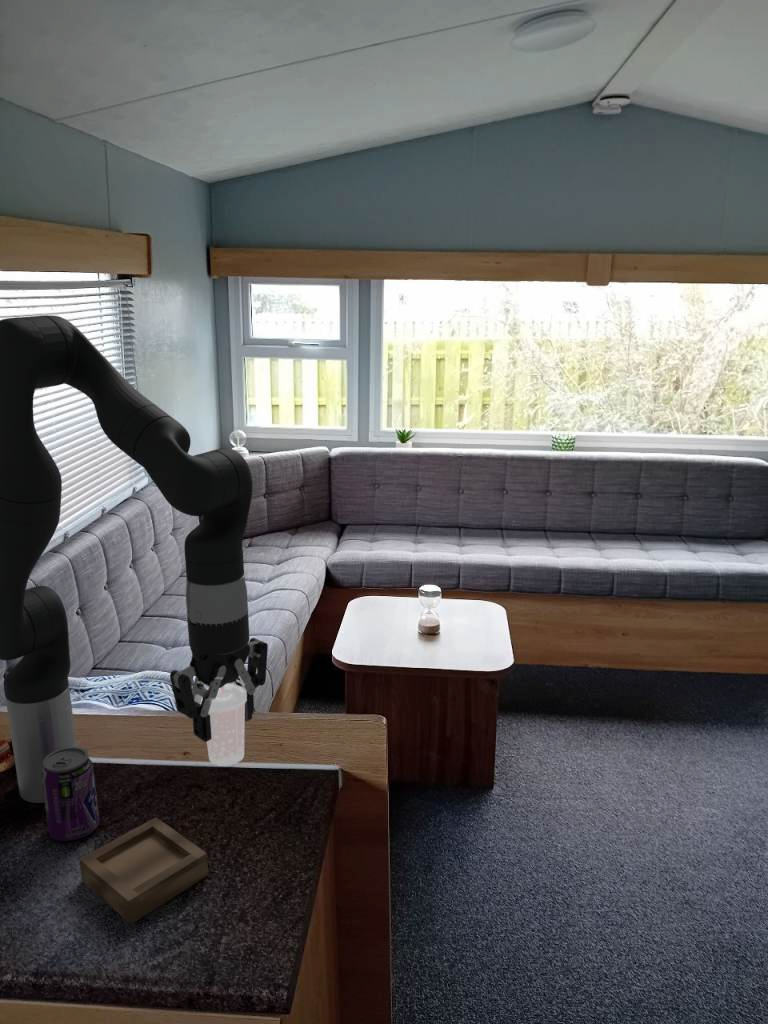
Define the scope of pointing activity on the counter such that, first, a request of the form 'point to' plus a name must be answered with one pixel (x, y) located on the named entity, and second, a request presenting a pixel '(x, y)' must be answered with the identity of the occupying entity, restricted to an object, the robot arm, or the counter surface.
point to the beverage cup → (227, 725)
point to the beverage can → (69, 794)
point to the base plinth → (143, 869)
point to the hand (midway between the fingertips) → (224, 728)
